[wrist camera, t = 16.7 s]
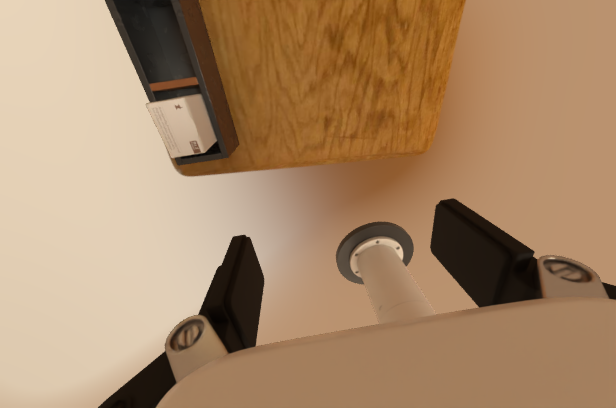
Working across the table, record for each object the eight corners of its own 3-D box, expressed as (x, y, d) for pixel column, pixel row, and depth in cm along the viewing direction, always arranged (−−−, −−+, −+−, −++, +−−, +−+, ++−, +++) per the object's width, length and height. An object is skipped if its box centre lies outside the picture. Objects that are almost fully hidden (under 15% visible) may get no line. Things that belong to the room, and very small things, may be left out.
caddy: (239, 144, 37) (228, 157, 31) (197, 150, 37) (177, 165, 30) (197, -5, 28) (168, -34, 21) (141, 3, 28) (94, -23, 21)
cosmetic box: (187, 95, 33) (138, 101, 22) (216, 90, 33) (182, 93, 22) (202, 137, 36) (167, 159, 25) (229, 132, 36) (205, 153, 25)
